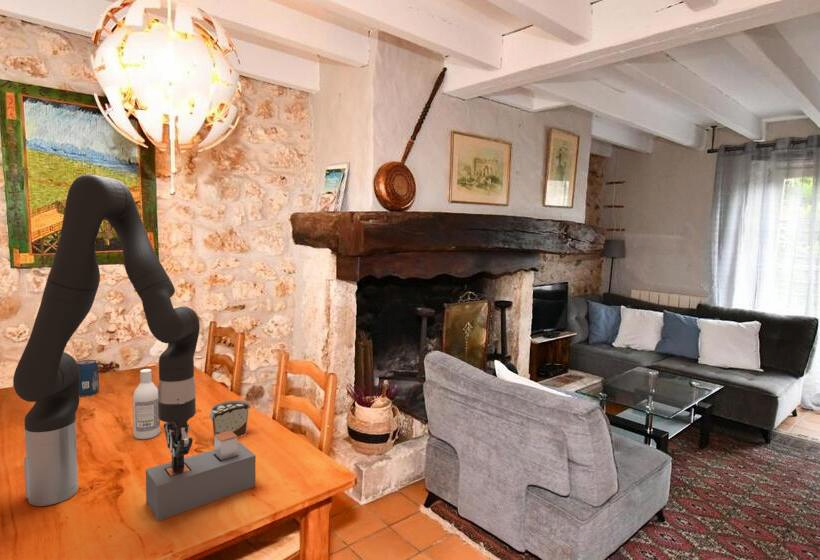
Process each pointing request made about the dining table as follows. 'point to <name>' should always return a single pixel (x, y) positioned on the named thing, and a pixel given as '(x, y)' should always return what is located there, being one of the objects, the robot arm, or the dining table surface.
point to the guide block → (198, 482)
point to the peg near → (172, 473)
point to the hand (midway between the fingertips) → (178, 469)
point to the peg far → (225, 445)
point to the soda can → (88, 377)
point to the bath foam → (146, 407)
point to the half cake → (230, 417)
